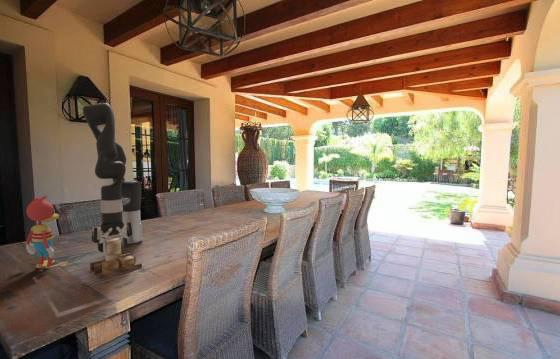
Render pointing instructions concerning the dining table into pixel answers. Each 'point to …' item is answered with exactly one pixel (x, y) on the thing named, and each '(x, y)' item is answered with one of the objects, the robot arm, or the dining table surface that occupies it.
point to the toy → (42, 232)
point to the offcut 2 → (126, 261)
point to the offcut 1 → (109, 265)
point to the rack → (97, 270)
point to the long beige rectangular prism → (112, 249)
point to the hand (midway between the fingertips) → (113, 249)
